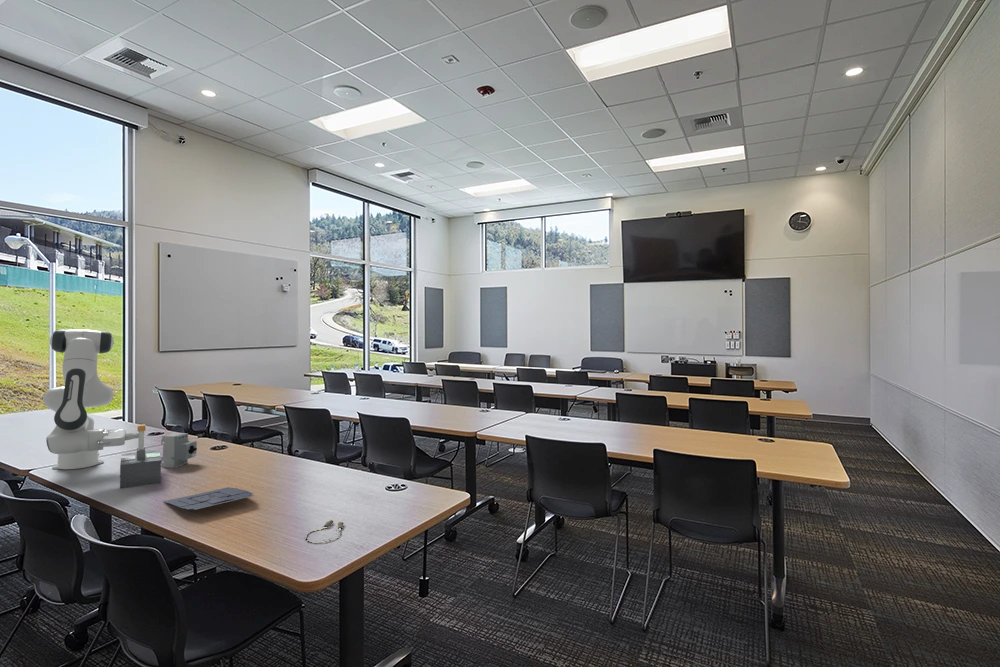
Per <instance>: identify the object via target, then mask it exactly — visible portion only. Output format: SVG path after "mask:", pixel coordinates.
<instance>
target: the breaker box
mask: <svg viewBox="0 0 1000 667" xmlns="http://www.w3.org/2000/svg"><path fill="white" fill-rule="evenodd" d="M160 452H161V451H160V450H159V449H157V450H147V451H146V446H144V449H143V450H138V447H137V448H136V452H128V453H121V456H120V464H119V465H120V466H119V489H120V490H121V489H127V488H135V487H142V486H151V485H158V484H161V479H162V476H161V475H162V467H161V453H160Z"/></svg>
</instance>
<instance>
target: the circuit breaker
mask: <svg viewBox="0 0 1000 667" xmlns="http://www.w3.org/2000/svg"><path fill="white" fill-rule="evenodd" d="M161 438H162V439H161V440H160V444H161V445H162V456H160V458H161V468H163V467H164V468H178V467H181V466H183V465H186V464H188V460H189V459H192V458H195V457H196V456H197V450H198V447H197V440H189V433H188V432H187V433H186V432H172V433H171V432H170V433H168V434H165V435H161Z"/></svg>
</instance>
